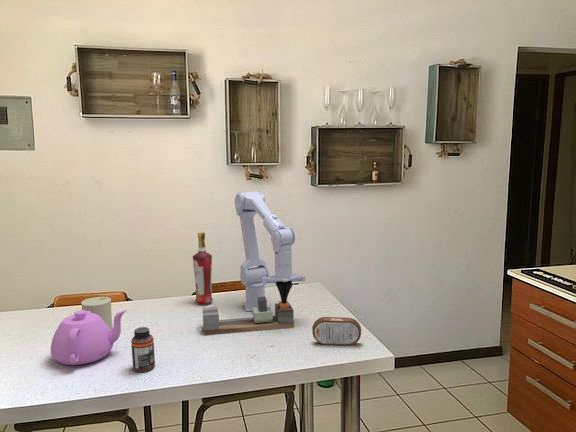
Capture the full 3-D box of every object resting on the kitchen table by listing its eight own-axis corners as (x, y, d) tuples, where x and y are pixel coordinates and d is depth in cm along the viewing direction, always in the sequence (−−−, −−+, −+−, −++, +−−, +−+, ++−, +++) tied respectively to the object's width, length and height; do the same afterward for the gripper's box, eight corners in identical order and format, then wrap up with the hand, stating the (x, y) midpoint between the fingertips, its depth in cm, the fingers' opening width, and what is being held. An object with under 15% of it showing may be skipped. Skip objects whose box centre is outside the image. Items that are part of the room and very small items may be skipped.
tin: (361, 342, 152) (361, 316, 151) (361, 346, 149) (361, 320, 148) (312, 341, 154) (312, 315, 152) (312, 345, 151) (311, 319, 149)
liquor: (191, 303, 193) (188, 233, 189) (206, 299, 198) (204, 230, 194) (201, 307, 187) (198, 235, 183) (217, 303, 192) (214, 232, 188)
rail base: (203, 325, 168) (202, 307, 168) (288, 318, 174) (288, 300, 173) (203, 335, 160) (203, 316, 159) (293, 327, 165) (293, 308, 165)
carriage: (252, 317, 170) (252, 296, 169) (269, 316, 171) (269, 295, 170) (255, 324, 164) (254, 301, 163) (272, 322, 165) (272, 300, 164)
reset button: (278, 311, 170) (278, 301, 169) (287, 310, 171) (287, 300, 170) (280, 314, 167) (280, 304, 167) (289, 313, 168) (289, 303, 167)
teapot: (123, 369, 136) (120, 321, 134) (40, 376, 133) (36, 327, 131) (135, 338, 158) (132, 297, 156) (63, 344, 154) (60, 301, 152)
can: (119, 331, 164) (117, 297, 162) (98, 342, 155) (95, 305, 154) (98, 327, 168) (96, 294, 166) (77, 337, 159) (74, 301, 158)
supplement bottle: (135, 363, 139) (133, 325, 138) (156, 362, 140) (154, 324, 138) (130, 373, 133) (128, 333, 132) (152, 372, 134) (150, 332, 132)
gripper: (263, 268, 161) (264, 307, 163) (306, 265, 164) (307, 304, 166) (260, 263, 168) (261, 301, 170) (302, 260, 171) (302, 298, 173)
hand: (283, 302), depth 168 cm, fingers closed, pressing on reset button
